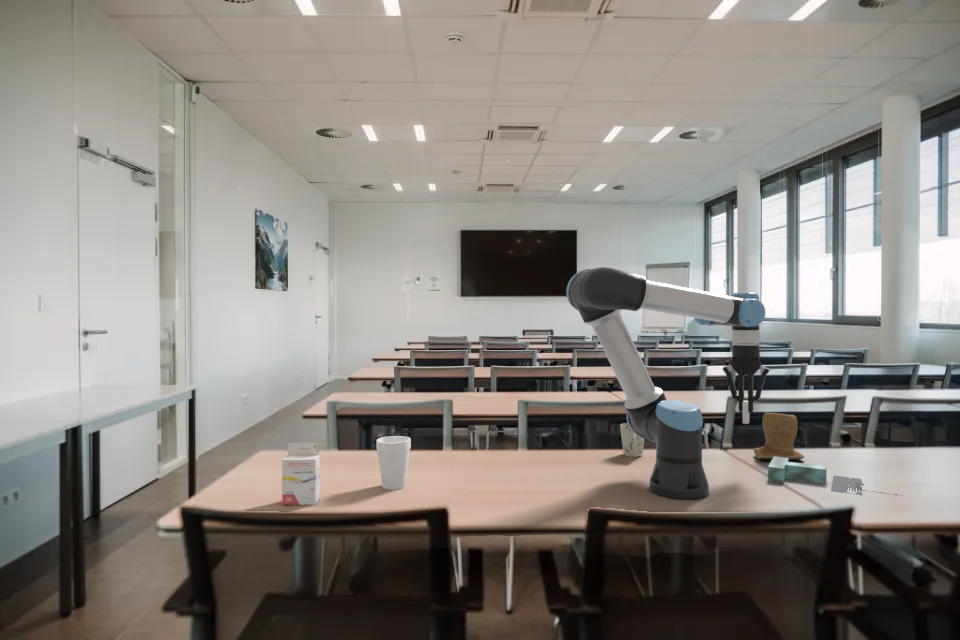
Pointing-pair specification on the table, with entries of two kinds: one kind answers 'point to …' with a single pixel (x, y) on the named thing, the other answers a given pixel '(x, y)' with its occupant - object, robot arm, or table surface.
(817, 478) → the t block
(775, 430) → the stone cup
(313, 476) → the ink cartridge box
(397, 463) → the foam cup
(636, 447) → the mug
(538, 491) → the table surface
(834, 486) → the pad
